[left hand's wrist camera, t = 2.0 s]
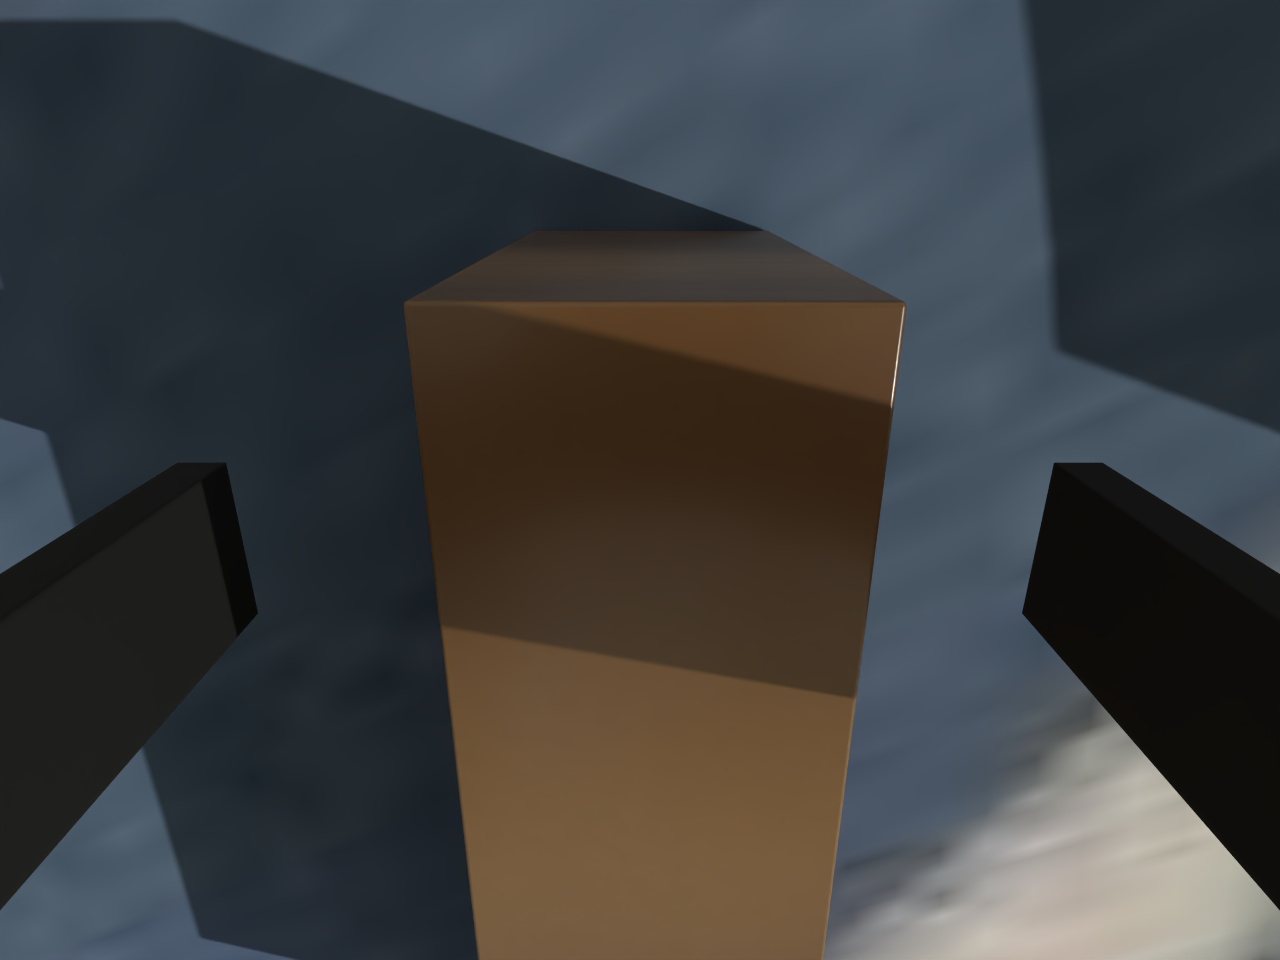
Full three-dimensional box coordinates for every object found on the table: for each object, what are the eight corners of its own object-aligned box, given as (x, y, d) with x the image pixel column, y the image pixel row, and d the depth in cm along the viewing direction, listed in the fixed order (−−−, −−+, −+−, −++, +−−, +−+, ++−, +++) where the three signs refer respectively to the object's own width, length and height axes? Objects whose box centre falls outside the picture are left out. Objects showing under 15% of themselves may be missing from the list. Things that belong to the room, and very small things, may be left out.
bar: (532, 230, 15) (401, 300, 7) (769, 230, 15) (909, 301, 7) (572, 1024, 23) (533, 1458, 15) (721, 1025, 23) (758, 1461, 15)
